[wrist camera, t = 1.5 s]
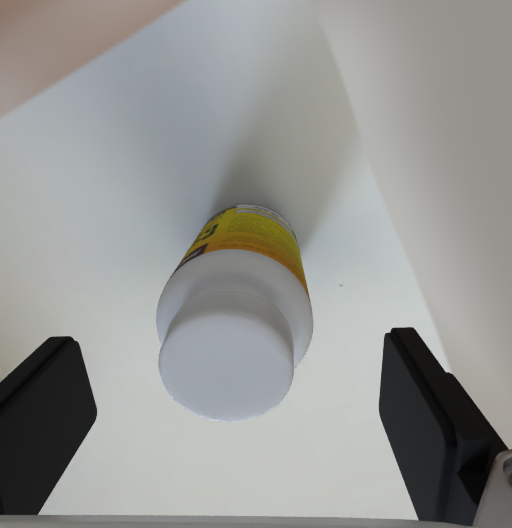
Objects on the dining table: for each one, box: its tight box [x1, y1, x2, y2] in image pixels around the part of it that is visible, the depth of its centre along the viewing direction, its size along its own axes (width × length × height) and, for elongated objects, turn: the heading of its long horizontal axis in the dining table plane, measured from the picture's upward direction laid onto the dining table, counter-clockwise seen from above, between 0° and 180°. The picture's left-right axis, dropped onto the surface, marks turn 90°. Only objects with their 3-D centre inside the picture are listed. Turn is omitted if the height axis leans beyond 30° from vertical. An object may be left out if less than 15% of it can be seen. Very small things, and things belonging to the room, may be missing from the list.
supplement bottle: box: [156, 204, 313, 422], centre depth 15 cm, size 6×6×10 cm
